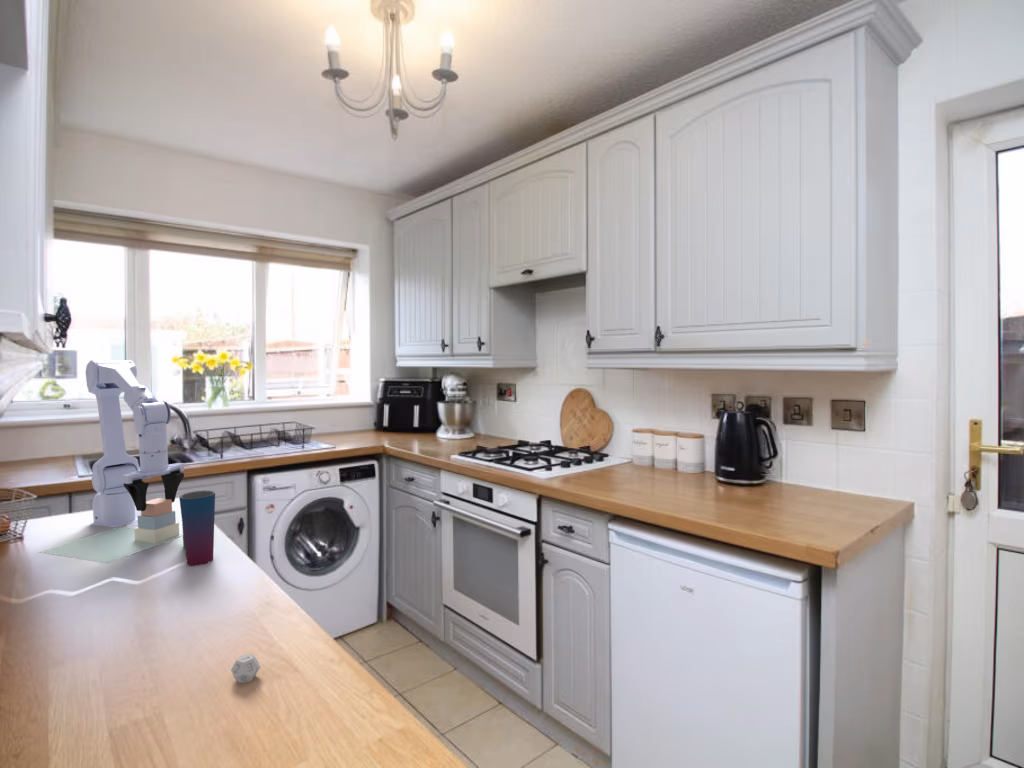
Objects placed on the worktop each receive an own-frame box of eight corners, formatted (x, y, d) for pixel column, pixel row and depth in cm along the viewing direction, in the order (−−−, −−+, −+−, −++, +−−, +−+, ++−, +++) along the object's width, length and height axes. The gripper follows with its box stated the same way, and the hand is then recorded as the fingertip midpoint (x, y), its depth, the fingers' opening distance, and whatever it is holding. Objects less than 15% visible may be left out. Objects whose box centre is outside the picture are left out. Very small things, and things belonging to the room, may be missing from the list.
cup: (222, 560, 118) (219, 493, 117) (187, 570, 113) (184, 500, 112) (211, 553, 123) (209, 488, 122) (177, 561, 118) (175, 494, 117)
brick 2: (138, 527, 130) (137, 515, 130) (159, 520, 135) (158, 509, 135) (154, 529, 128) (154, 517, 128) (175, 522, 133) (175, 511, 133)
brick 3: (134, 540, 130) (134, 528, 130) (159, 531, 136) (159, 520, 136) (154, 543, 128) (154, 530, 128) (179, 534, 134) (178, 522, 134)
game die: (230, 676, 76) (229, 655, 76) (259, 668, 78) (258, 648, 78) (232, 689, 73) (231, 668, 73) (262, 681, 75) (261, 660, 75)
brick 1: (141, 515, 130) (140, 502, 130) (158, 509, 134) (158, 498, 134) (155, 516, 129) (154, 504, 129) (172, 511, 133) (171, 499, 133)
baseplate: (38, 554, 122) (38, 551, 122) (121, 528, 141) (121, 526, 140) (107, 565, 116) (107, 563, 116) (185, 536, 134) (185, 534, 134)
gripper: (136, 457, 123) (139, 516, 123) (192, 447, 136) (194, 499, 137) (114, 456, 125) (117, 513, 126) (171, 445, 139) (173, 497, 139)
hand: (156, 506), depth 131 cm, fingers open, 7 cm apart
